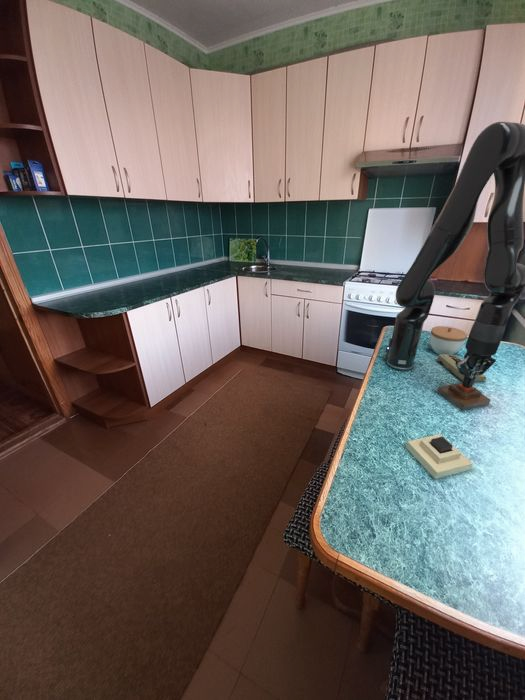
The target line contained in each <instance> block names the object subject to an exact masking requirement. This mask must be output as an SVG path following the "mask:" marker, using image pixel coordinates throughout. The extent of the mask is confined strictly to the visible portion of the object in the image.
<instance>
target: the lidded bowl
mask: <svg viewBox="0 0 525 700" xmlns="http://www.w3.org/2000/svg"><path fill="white" fill-rule="evenodd" d="M467 339H468V334H467V333H466V331H464V330H462V329H460V328H456V327H453V326H445V325H439V326H434V327H432V328H431V329H430V334H429V346H430V348H431V349H432V350H433V352H434V353H435V354H437V355H438V356H439V355H440V354H448V355H456V353H458V352H459V351H460V350H462V348H463V346H464V344H466V341H467Z"/></svg>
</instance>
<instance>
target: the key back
mask: <svg viewBox="0 0 525 700" xmlns="http://www.w3.org/2000/svg"><path fill="white" fill-rule="evenodd" d="M457 387H458V388H459V389H461V390H462V391H464V392H465V393H467V392H472V391H474V389H475V388H476V387H475V386H473V387H469V388H466V387H465V386H463V384H458V386H457Z"/></svg>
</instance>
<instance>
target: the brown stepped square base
mask: <svg viewBox="0 0 525 700" xmlns="http://www.w3.org/2000/svg"><path fill="white" fill-rule="evenodd" d="M458 384H462V381H460V382H456V383H451V384H445V385H442V386H438V387H437V391H436V393H437V394H438V395H440V396H441V397H443V398H444V399H445V400H447V402H450V403H451V404H452V405H454V407H456V408H457V409H459V410H460V411H462V412H463V411H468V410H472V409H477V408H482V407H483V408H484V407H487V406H489V405H490V403H491V401H492V399H491V398H489V397H488V396H486V395H484V394H483V392H482V391H481V390H479V389H478V388H476V387H474V385H473V386H472V387H474V388H475V389H474V391H472V392H467V393H465V392H464V391H462V390H461V389H459V388H458V387H457V386H458Z"/></svg>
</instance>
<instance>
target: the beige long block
mask: <svg viewBox="0 0 525 700" xmlns="http://www.w3.org/2000/svg"><path fill="white" fill-rule="evenodd" d="M462 360H463V359H462V358H461V357H460V356H459V355H457V354H453V355H448V354H440V355H439V354H438V356H437V358H436V361H437V362H438V363H439V364H440V365H441V366H442V367H444V368H445V369H447V371H449V372H450V373H451V375H453V376H455V377H456V378H457V379H458V380H459V381H460V382H463V379H464V375H462V374H460V372H459V370H458V368H457V366H456V364H455V363H456V361H459V362H460V361H462ZM486 379H487V377H486V375H484V374H482V375H480V374H479V375H478V377H476V379H475V381H474V383H477V382H485V381H486Z"/></svg>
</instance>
